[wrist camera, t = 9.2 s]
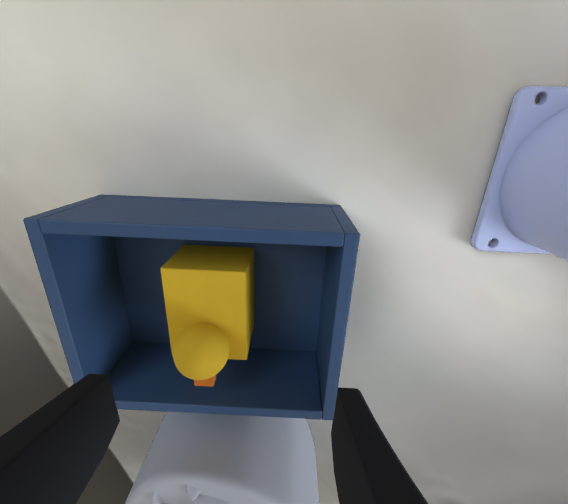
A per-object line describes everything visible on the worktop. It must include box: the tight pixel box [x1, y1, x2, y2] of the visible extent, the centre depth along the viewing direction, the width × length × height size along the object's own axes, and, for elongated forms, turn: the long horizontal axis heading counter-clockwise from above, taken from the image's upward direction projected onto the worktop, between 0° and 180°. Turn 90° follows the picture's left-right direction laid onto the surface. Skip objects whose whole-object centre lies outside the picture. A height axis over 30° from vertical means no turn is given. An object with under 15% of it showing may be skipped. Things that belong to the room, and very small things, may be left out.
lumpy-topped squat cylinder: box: [125, 412, 319, 504], centre depth 19 cm, size 10×13×9 cm
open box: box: [24, 195, 360, 420], centre depth 15 cm, size 13×10×5 cm
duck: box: [160, 244, 254, 387], centre depth 15 cm, size 4×6×6 cm
